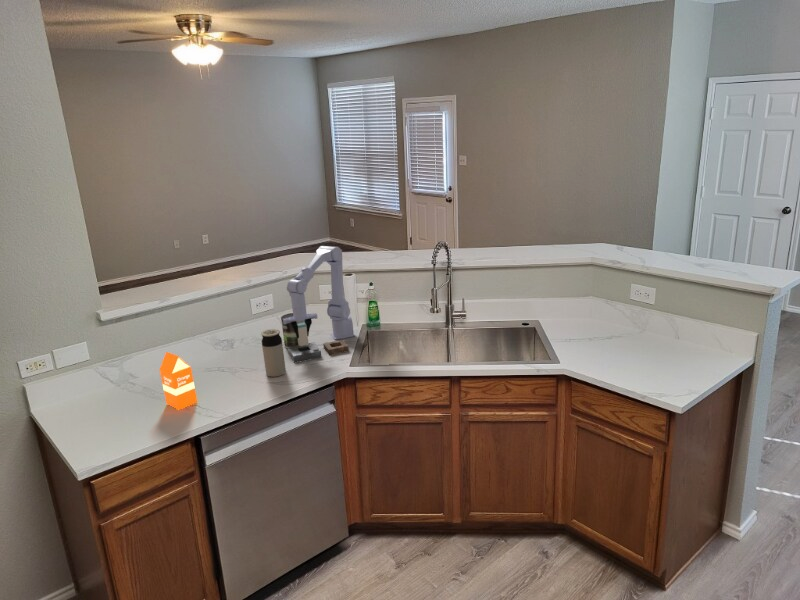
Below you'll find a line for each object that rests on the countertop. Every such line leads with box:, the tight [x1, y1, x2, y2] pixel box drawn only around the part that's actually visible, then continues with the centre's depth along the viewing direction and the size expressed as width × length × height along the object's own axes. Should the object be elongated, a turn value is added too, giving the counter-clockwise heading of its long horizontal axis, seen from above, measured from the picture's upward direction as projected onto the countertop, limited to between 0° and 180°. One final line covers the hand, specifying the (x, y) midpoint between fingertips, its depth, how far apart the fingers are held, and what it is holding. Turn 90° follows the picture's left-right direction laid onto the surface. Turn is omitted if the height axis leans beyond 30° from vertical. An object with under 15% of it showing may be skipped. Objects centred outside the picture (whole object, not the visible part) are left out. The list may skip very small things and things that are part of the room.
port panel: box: [287, 342, 322, 364], centre depth 252 cm, size 12×12×3 cm
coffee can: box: [280, 312, 304, 349], centre depth 263 cm, size 10×10×14 cm
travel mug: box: [260, 328, 287, 378], centre depth 233 cm, size 8×8×18 cm
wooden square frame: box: [322, 339, 350, 356], centre depth 256 cm, size 9×9×2 cm
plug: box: [297, 323, 309, 346], centre depth 249 cm, size 4×4×9 cm
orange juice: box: [159, 351, 198, 411], centre depth 211 cm, size 8×9×20 cm
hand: (302, 336), depth 249 cm, fingers closed on plug, 4 cm apart
